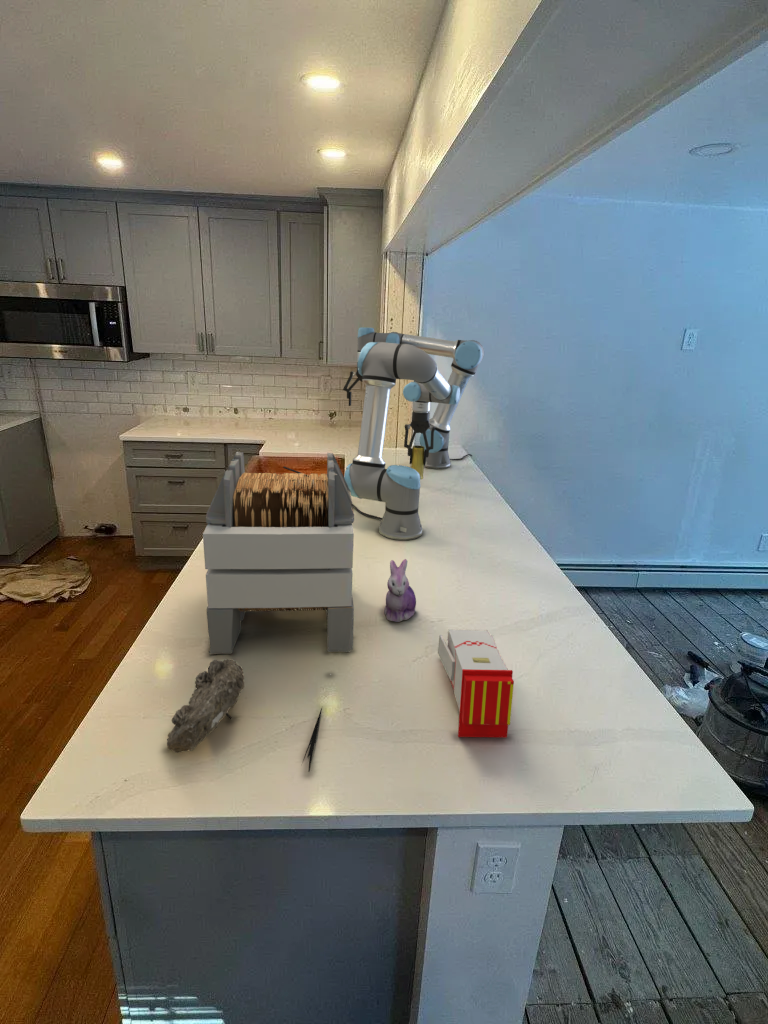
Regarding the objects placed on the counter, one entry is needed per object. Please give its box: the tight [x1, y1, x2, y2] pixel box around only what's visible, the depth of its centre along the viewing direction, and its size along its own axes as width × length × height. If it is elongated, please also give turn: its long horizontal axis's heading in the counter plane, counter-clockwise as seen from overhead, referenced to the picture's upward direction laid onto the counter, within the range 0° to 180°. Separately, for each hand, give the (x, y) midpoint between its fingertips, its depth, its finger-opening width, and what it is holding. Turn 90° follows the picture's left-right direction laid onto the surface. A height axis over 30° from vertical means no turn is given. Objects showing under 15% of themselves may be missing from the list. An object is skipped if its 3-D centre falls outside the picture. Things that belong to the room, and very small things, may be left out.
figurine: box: [384, 558, 417, 623], centre depth 145 cm, size 9×10×15 cm
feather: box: [301, 673, 332, 771], centre depth 108 cm, size 2×28×2 cm
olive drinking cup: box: [410, 445, 425, 481], centre depth 251 cm, size 6×6×14 cm
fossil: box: [166, 658, 245, 754], centre depth 106 cm, size 22×10×15 cm
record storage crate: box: [202, 451, 355, 655], centre depth 137 cm, size 34×33×41 cm
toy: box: [437, 628, 515, 738], centre depth 117 cm, size 12×13×30 cm
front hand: (417, 463), depth 251 cm, fingers closed on olive drinking cup, 5 cm apart
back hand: (363, 406), depth 276 cm, fingers open, 13 cm apart
